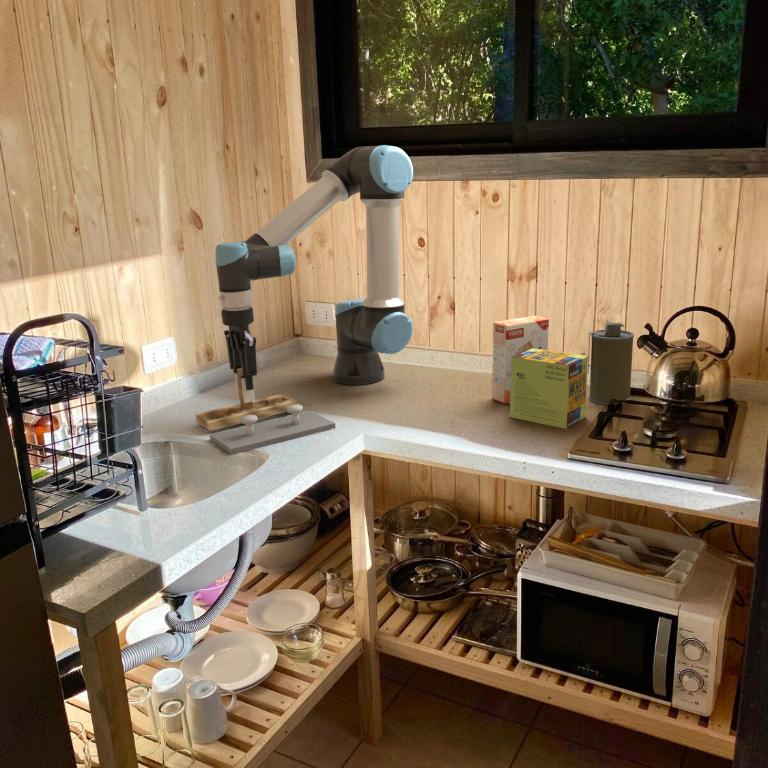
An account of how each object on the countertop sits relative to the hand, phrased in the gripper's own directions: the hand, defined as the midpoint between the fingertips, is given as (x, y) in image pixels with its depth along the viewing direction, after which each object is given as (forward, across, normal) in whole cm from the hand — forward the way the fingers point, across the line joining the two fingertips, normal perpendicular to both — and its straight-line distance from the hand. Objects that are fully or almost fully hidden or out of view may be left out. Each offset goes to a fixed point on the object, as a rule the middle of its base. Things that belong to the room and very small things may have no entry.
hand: (246, 399), depth 199 cm
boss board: (+5, +14, 0) cm, 15 cm away
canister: (+7, +47, +80) cm, 93 cm away
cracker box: (+6, +31, +64) cm, 71 cm away
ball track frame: (+4, 0, 0) cm, 4 cm away
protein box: (+6, +47, +58) cm, 75 cm away
